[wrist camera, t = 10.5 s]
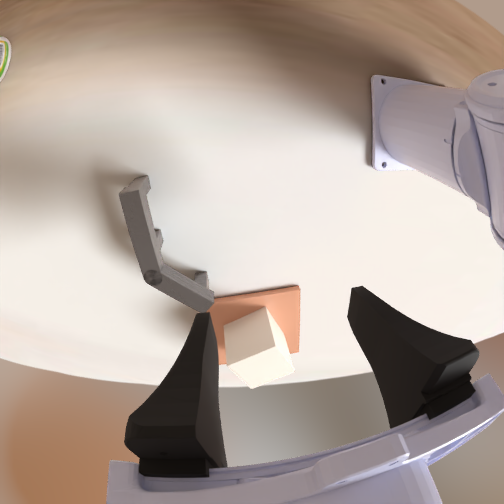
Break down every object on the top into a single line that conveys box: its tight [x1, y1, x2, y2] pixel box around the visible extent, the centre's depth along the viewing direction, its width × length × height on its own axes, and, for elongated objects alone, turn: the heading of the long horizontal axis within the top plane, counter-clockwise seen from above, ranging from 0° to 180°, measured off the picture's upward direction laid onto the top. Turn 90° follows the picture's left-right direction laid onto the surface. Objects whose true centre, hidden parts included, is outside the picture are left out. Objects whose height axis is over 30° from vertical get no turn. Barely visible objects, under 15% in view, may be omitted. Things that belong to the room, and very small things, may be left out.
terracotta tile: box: [207, 286, 300, 365], centre depth 28 cm, size 9×9×1 cm
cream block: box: [224, 306, 295, 389], centre depth 25 cm, size 4×4×5 cm
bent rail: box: [119, 176, 214, 313], centre depth 21 cm, size 5×10×4 cm, turn 5°
